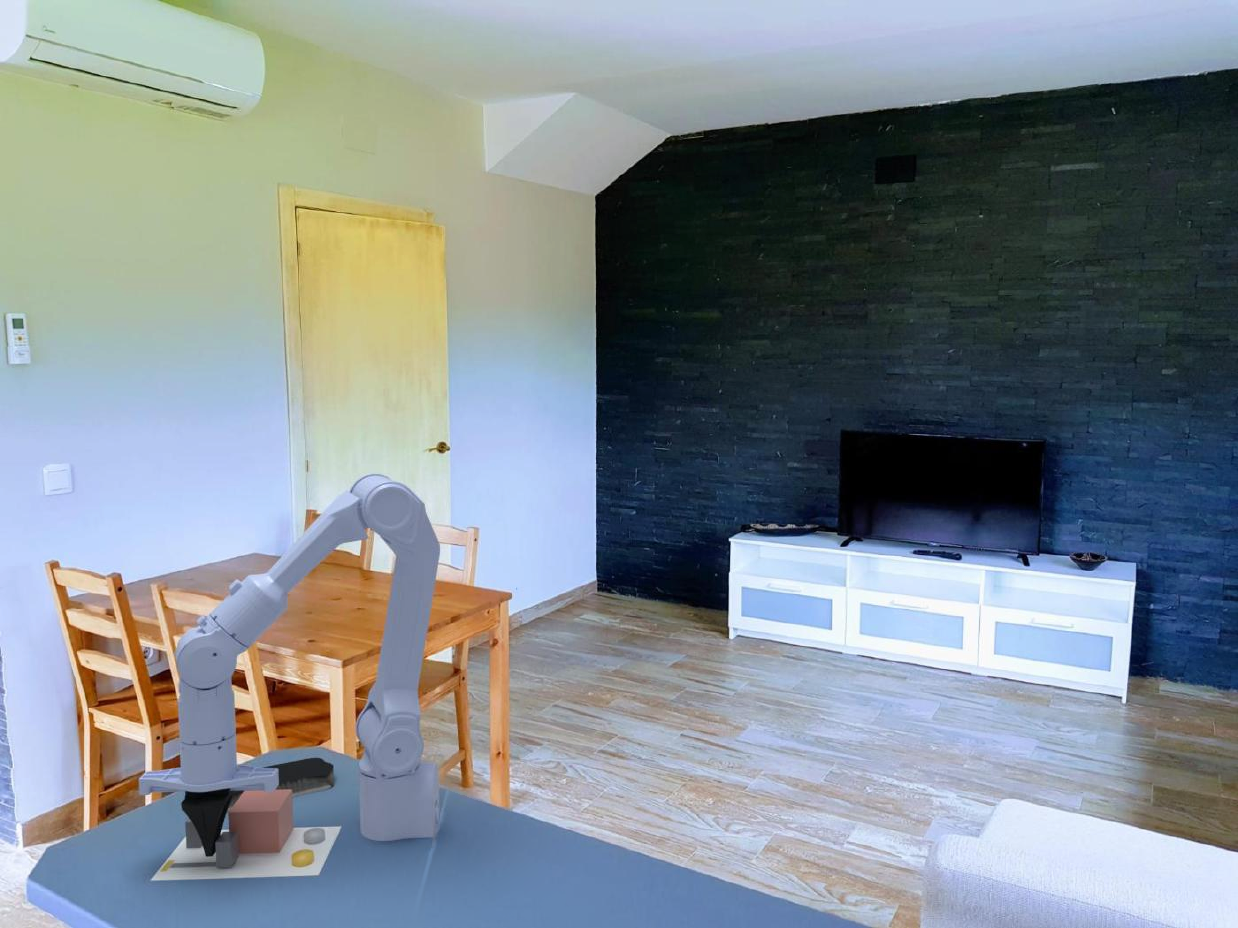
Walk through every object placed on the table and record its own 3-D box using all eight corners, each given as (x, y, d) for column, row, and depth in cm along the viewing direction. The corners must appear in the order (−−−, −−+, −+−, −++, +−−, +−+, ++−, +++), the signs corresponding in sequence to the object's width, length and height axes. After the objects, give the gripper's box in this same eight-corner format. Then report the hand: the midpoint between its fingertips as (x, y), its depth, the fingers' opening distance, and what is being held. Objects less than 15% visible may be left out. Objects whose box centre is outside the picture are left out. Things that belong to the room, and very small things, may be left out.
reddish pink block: (293, 828, 112) (292, 789, 112) (279, 852, 107) (278, 810, 106) (246, 830, 112) (244, 790, 111) (229, 853, 106) (228, 812, 106)
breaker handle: (238, 856, 105) (237, 831, 105) (231, 867, 103) (230, 841, 103) (224, 856, 105) (223, 831, 105) (216, 867, 103) (215, 842, 103)
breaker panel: (341, 835, 113) (340, 801, 113) (318, 885, 102) (317, 847, 102) (190, 840, 112) (188, 805, 111) (150, 890, 101) (148, 852, 100)
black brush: (207, 828, 115) (206, 800, 115) (198, 801, 123) (197, 774, 122) (339, 798, 124) (338, 771, 123) (323, 774, 131) (323, 749, 131)
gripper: (285, 720, 107) (288, 832, 108) (156, 722, 106) (161, 835, 107) (266, 744, 100) (269, 864, 101) (127, 747, 99) (133, 868, 100)
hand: (212, 851), depth 104 cm, fingers closed
